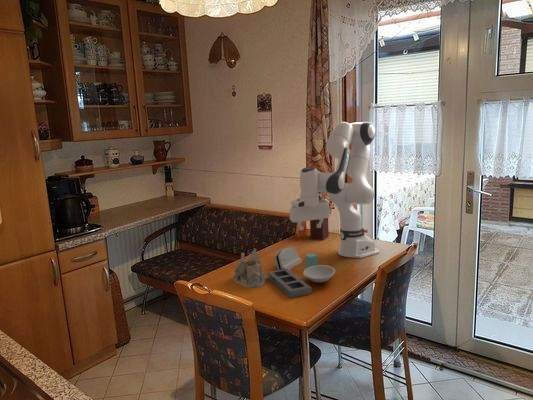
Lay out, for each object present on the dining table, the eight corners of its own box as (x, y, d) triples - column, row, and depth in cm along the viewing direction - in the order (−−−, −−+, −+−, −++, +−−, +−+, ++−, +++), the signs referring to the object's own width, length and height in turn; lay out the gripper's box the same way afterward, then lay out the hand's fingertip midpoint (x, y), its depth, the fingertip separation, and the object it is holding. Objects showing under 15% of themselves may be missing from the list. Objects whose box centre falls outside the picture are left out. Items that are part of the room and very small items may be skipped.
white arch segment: (285, 271, 207) (279, 252, 207) (278, 273, 209) (271, 254, 210) (302, 261, 220) (296, 243, 220) (295, 263, 223) (289, 245, 223)
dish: (309, 273, 202) (308, 263, 201) (338, 276, 197) (338, 266, 196) (299, 287, 186) (298, 277, 185) (330, 290, 181) (330, 279, 180)
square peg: (313, 268, 209) (313, 253, 207) (318, 271, 205) (317, 255, 203) (306, 269, 207) (305, 254, 206) (310, 272, 203) (309, 257, 202)
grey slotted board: (287, 274, 202) (286, 268, 202) (311, 293, 178) (311, 287, 178) (268, 278, 199) (267, 272, 198) (290, 298, 175) (290, 291, 174)
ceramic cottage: (235, 274, 206) (234, 246, 202) (268, 276, 203) (267, 247, 199) (228, 288, 191) (226, 258, 187) (263, 290, 188) (262, 260, 184)
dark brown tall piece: (308, 239, 259) (307, 195, 253) (315, 235, 268) (314, 192, 263) (322, 241, 254) (321, 196, 249) (328, 236, 264) (327, 193, 259)
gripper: (325, 197, 206) (326, 224, 208) (287, 202, 199) (288, 230, 202) (331, 199, 200) (332, 227, 203) (293, 204, 193) (294, 233, 196)
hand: (310, 228), depth 202 cm, fingers open, 8 cm apart
